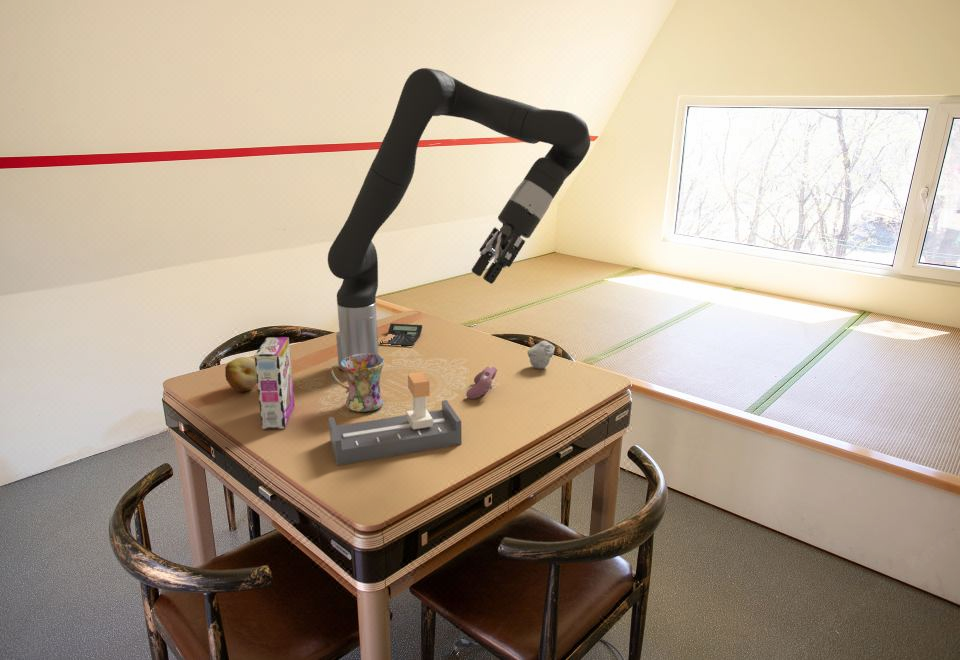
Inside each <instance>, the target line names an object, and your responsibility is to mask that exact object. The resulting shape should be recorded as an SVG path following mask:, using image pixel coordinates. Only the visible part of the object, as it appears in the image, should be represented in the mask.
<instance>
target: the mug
mask: <svg viewBox="0 0 960 660" xmlns="http://www.w3.org/2000/svg"><path fill="white" fill-rule="evenodd" d="M385 363H386V362H385V358H384V357H383V356H381V355H376V354H356V355H352V356H349V357H346V358H344V359H343V360H342V361H341V365H338V364H334V365H333V366H331V368H330V374H331V376H332V378H333V379H334V381H335V382H336V383H337V384H338V385H339V386H341V387H342V388H343V389H346V391H345V393H346V394H347V393H348V394H347V398H346V401H345V406H346V407H347V408H348V409H349V410H351V411H354V412H359V413H360V412H361V413H362V412H363V413H365V412H371V411H372V412H373V411H375V410H378V409H380V408H381V407H383V405H384V404H385V401H386V399H385V398H384V395H383V393H382V390H381V385H380V384H381V383H380V382H381V381H380V380H381V373H382V369H383V366H384V364H385ZM335 368H338V369H339V368H341V369H343V370H344V374H345V376H346V380H347V383H348V384H347V385H348V386H347V385H345V383H342V382H341V381H340V380H339V379H338V378H337V376H336V375H335V373H334V369H335ZM343 370H342V371H343Z"/></svg>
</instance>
